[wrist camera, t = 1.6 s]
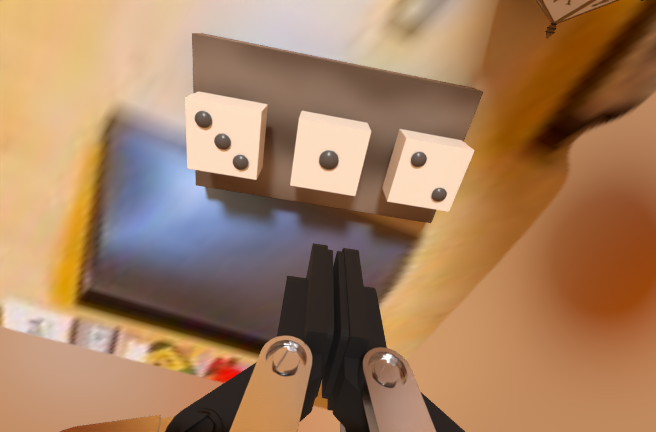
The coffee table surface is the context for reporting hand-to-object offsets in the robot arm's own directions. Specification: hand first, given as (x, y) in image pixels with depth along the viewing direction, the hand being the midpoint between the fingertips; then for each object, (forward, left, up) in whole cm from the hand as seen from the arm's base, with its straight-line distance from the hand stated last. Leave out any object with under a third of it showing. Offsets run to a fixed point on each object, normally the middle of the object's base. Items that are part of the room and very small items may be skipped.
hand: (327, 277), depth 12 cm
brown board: (0, 0, -19) cm, 19 cm away
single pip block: (0, 0, -15) cm, 15 cm away
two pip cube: (0, +8, -15) cm, 17 cm away
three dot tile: (0, -7, -15) cm, 17 cm away
